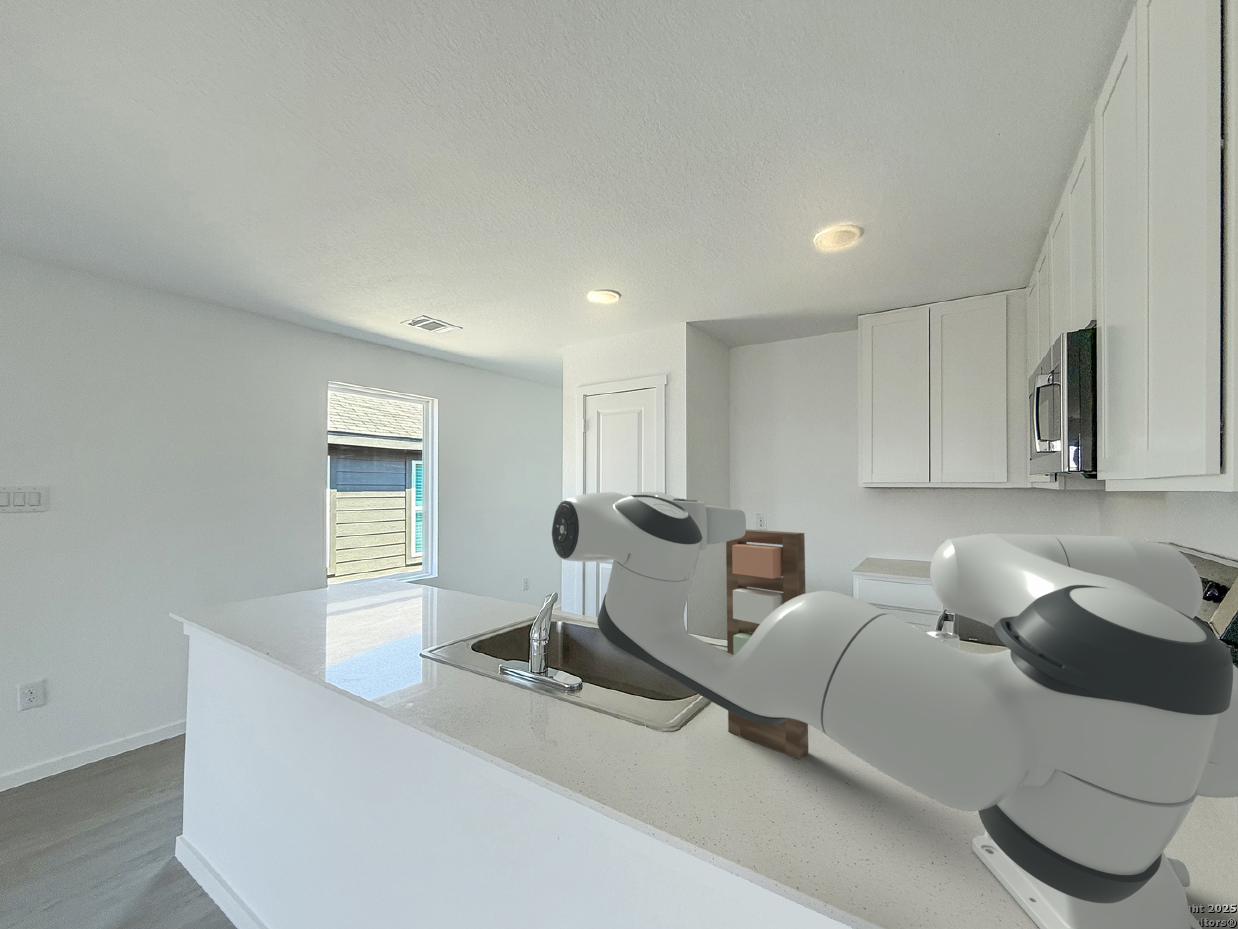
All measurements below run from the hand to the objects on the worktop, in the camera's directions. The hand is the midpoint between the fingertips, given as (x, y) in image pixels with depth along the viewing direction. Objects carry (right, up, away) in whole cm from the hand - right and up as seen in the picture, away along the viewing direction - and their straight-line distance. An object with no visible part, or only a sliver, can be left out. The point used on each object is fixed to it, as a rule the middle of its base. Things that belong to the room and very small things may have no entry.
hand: (709, 519), depth 84 cm
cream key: (+10, -19, +9) cm, 23 cm away
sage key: (+10, -27, +9) cm, 30 cm away
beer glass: (+51, -41, +23) cm, 69 cm away
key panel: (+12, -40, +9) cm, 43 cm away
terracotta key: (+10, -11, +9) cm, 17 cm away
